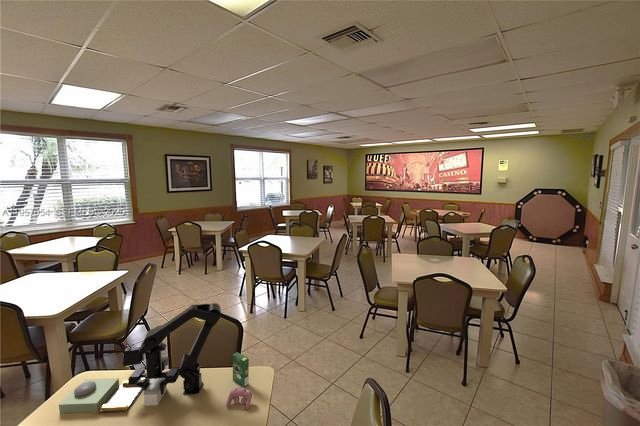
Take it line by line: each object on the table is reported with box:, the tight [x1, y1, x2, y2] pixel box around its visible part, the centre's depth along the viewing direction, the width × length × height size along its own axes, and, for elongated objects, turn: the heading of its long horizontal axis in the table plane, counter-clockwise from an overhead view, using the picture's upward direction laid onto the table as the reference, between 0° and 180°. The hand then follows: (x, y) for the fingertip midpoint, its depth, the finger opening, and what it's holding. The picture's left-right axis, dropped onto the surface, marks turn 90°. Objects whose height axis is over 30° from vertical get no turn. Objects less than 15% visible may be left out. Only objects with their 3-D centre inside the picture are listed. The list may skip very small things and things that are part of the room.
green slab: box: [58, 377, 120, 415], centre depth 120 cm, size 14×14×6 cm
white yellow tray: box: [98, 379, 143, 414], centre depth 121 cm, size 10×15×2 cm, turn 4°
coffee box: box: [232, 351, 250, 388], centre depth 131 cm, size 8×3×13 cm, turn 57°
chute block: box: [143, 378, 168, 407], centre depth 122 cm, size 5×9×6 cm, turn 6°
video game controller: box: [225, 387, 253, 411], centre depth 119 cm, size 10×5×7 cm, turn 85°
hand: (156, 394), depth 122 cm, fingers closed on chute block, 5 cm apart
